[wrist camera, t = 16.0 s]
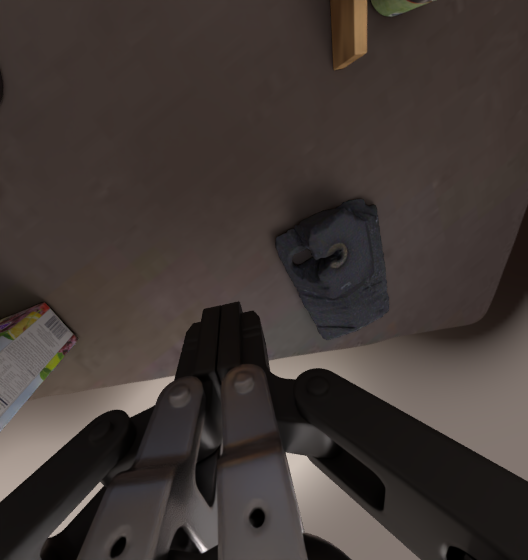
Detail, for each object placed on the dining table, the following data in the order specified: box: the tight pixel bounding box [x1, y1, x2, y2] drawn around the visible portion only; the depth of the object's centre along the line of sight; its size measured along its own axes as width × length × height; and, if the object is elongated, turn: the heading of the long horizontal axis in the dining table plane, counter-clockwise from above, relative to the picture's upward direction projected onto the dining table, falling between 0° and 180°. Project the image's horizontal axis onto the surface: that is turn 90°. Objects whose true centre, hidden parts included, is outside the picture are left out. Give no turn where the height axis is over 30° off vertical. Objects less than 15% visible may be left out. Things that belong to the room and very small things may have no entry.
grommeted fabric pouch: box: [276, 199, 389, 340], centre depth 40 cm, size 15×22×5 cm
